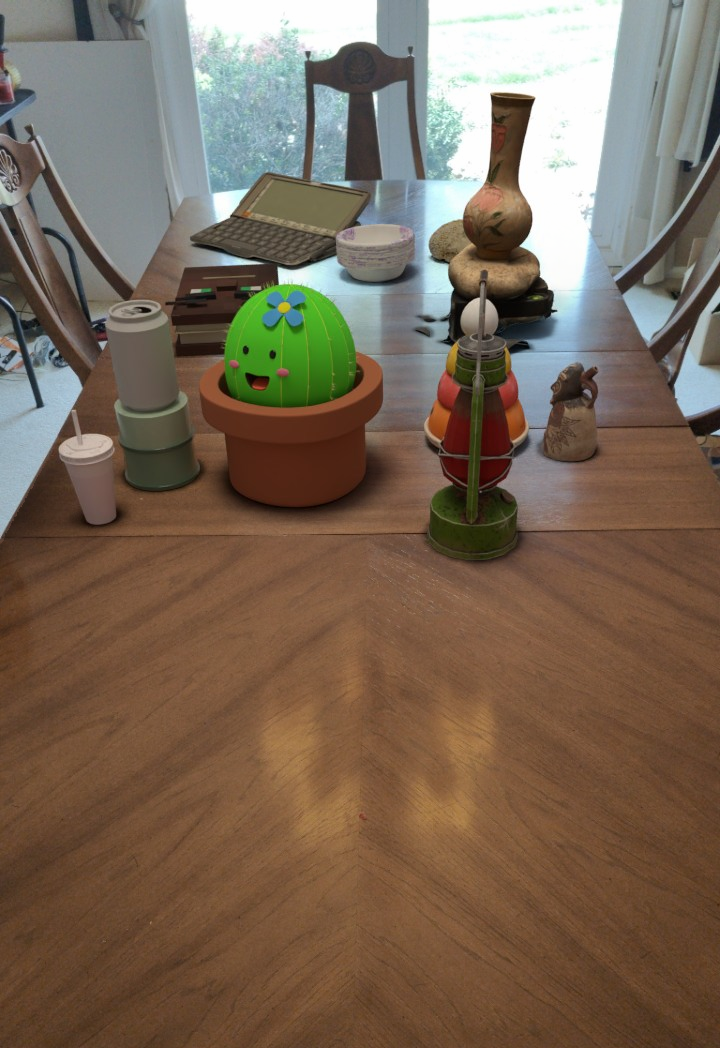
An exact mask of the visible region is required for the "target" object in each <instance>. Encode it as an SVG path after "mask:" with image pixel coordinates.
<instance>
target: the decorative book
mask: <svg viewBox="0 0 720 1048" xmlns="http://www.w3.org/2000/svg"><path fill="white" fill-rule="evenodd" d="M181 275H182V276H181V278H180V282H179V286H178V289H177V291H176V296H175V297H174V300H173V301H165V302H164V305H165V306H173V308H172V309H171V314H170V320H171V326H172V327H175V330H174V334H175V335H177V339H176V341H175V353H176V357H187V356H206V355H207V356H208V355H209V356H210V355H224V353H225V343H226V342H224V341H223V340H225V341H226V338H227V334H228V333H227V331H229V328H230V326H229V325H231V323H232V321H233V319H234V317H235V316H236V314H237V312H238V311H239V310H240V308H241V307H242V306H243V305H244V304H245V303H246V302H247V301H248V300H249V299H250V298H251V297H253V296H254V295H256V294H257V293H259V292H261V291H263V290H265V289H267V285H268V287H269V285H270V287H272V286H273V284H274V286H276V285H280V280H279V278H280V277H279V267H278V262H274V263H273V262H272V263H251V264H230V265H228V264H227V265H209V266H186V267H184V268H183V272H182V274H181ZM268 281H269V282H268ZM272 281H273V282H272ZM263 283H264V284H263ZM266 283H267V284H266ZM264 286H265V288H264ZM254 293H255V294H254ZM249 294H251V295H252V294H253V295H252V296H250V295H249ZM228 324H229V325H228ZM227 327H229V328H227ZM227 329H228V330H227ZM225 330H226V332H224V331H225ZM222 332H223V333H222ZM221 345H222V346H221ZM221 347H222V348H223V347H224V348H223V349H222V348H221Z"/></svg>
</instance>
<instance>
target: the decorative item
mask: <svg viewBox="0 0 720 1048" xmlns="http://www.w3.org/2000/svg"><path fill="white" fill-rule="evenodd" d="M471 243H472V242H471V241H470V240H469V239H468V238H467V236H466V234H465V232H464V228H463V218H459V219H456V220H455V219H453V220H451V221H448V222H447V223H444V224H442V225H440V227H438V228H437V229H436V230H435V231H434V232H433V233H432V234H431V236H430V237H429V239H428V250H429V252H430V254H431V256H432V257H433V258H435V259H436V260H445V262H448V263H450V262H451V260H452V259H453V258H454V257H455V256H456V255H458V254H459V253H460V252H461V251H462V250H463V249H464V248H465V247H467V246H468V245H469V244H471Z"/></svg>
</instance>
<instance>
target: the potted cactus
mask: <svg viewBox="0 0 720 1048" xmlns="http://www.w3.org/2000/svg"><path fill="white" fill-rule="evenodd" d="M268 282H269V281H268ZM272 282H273V281H272ZM263 284H264V283H263ZM266 284H267V283H266ZM308 286H309V282H306V285H303V284H294V279H291V280H289V279H287V283H286V281H283V284H282V283H281V284H279V285H276V286H274V284H273V286H272V287H270V285H269V287H268V285H267V289H265V290H263V291H261V292H259V293H257V294H256V295H254V296H253V297H251V298H250V299H249V300H248V301H247V302H246V303H245V304H244V305H243V306H242V307H241V308H240V310H239V311H238V312H237V314H236V316H235V317H234V319H233V321H232V323H231V325H229V324H228V325H229V326H230V328H229V327H227V328H229V331H227V333H228V334H227V338H226V341H225V340H223V341H224V342H226V343H225V353H224V354H223V355H224V358H222V359H220V360H219V361H218V362H216V363H215V364H213V365H212V366H211V367H209V368H208V369H207V370H206V371H205V373H203V375H202V376H201V378H200V380H199V384H198V393H199V400H200V407H201V414H202V417H203V419H204V421H205V422H206V423H207V424H208V425H209V426H210V427H212V428H213V429H215V430H216V431H218V432H221V433H222V434H224V442H225V450H226V451H225V452H226V457H227V458H226V459H227V466H228V475H229V480H230V483H231V485H232V487H233V488H234V490H235V491H237V492H238V493H239V494H241V495H242V496H244V497H246V498H247V499H250V500H252V501H255V502H258V503H261V504H265V505H270V506H277V507H284V508H306V507H314V506H315V507H316V506H319V505H324V504H328V503H330V502H333V501H336V500H338V499H341V498H342V497H344V496H346V495H348V494H349V493H350V492H352V491H353V490H354V489H356V487H358V486H359V484H360V483H361V482H362V481H363V479H364V478H365V477H364V476H365V474H366V471H367V469H366V468H367V450H366V447H367V446H366V424H368V423H369V422H370V421H372V420H373V419H374V418H375V417H376V416H377V414H379V412H380V410H381V408H382V406H383V404H384V403H383V402H384V374H383V373H384V372H383V369H382V366H381V365H380V364H379V362H377V361H376V360H375V359H373V358H372V357H371V356H369V355H366V354H364V353H363V352H359V349H357V348H356V346H355V341H356V339H357V338H353V333H354V331H353V330H352V327H353V326H354V324H352V325H350V326H349V325H348V323H347V321H346V320H345V318H344V315H343V314H342V312H341V311H340V309H339V308H338V307H337V305H336V304H335V303H334V302H335V301H336V298H333V297H331V298H330V299H329V298H328V297H327V296H328V293H326V294H323V293H321V292H322V290H323V289H320V291H318V290H316V289H315V288H313V287H308ZM264 288H265V286H264ZM254 294H255V293H254ZM249 295H250V296H252V295H253V294H252V295H251V294H249ZM332 298H333V299H332ZM227 330H228V329H227ZM224 332H226V330H225V331H224ZM222 333H223V332H222ZM221 346H222V345H221ZM221 348H222V347H221ZM223 348H224V347H223ZM223 348H222V349H223Z"/></svg>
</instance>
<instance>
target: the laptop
mask: <svg viewBox="0 0 720 1048" xmlns="http://www.w3.org/2000/svg"><path fill="white" fill-rule="evenodd" d="M371 201H372V194H371V191H370V190H366V189H359V188H355V187H349V186H343V185H338V184H334V183H327V182H321V181H315V180H310V179H306V178H300V177H297V176H291V175H286V174H281V173H276V172H271V171H265V172H264V173H262V174H261V175H260V176H259V177H258V178H257V180H256V181H255V182H254V183H253V184H252V185H251V187H250V188H249V190H248V191H247V192H246V193H245V194H244V196H243V197H242V198H241V199H240V201H239V203H238V204H237V206H236V208H234V210H233V211H232V213H230V215H229V217H227V218H225V219H224V220H222V221H219V222H216V223H213V224H212V225H210V226H207V227H205V228H203V229H202V230H200V231H198V232H196V233H194V234H192V235H191V236H189V240H190V242H193V243H197V244H201V245H207V246H211V247H216V248H219V249H223V250H224V251H226V252H227V253H229V254H232V255H235V256H237V257H242V258H252V257H255V258H259V259H263V260H266V261H272V262H274V263H279V264H284V265H286V266H296V265H299V264H301V263H304V262H306V261H311V262H316V261H319V260H323V259H325V258H328V257H331V256H334V255H337V252H336V251H337V250H336V236H337V234H339V233H340V232H341V231H344V230H346V229H349V228H352V227H357V226H362V223H361V221H358V219H359V218H360V217H361V215H362V214H363V212H364V211H365V209H367V206H368V205H369V203H370V202H371Z"/></svg>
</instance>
